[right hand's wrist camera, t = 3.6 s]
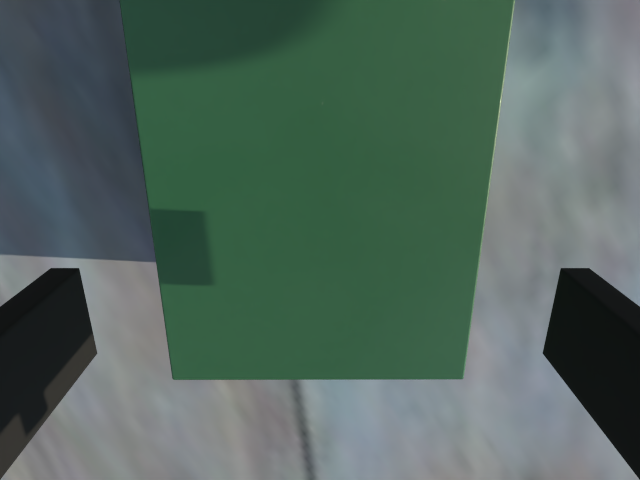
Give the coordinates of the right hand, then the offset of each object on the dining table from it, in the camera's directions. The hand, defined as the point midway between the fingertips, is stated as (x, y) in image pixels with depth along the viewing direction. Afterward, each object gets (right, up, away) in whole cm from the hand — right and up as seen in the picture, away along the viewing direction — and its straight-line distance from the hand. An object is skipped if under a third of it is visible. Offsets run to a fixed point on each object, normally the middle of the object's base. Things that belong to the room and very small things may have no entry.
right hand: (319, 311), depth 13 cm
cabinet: (0, +8, +12) cm, 14 cm away
